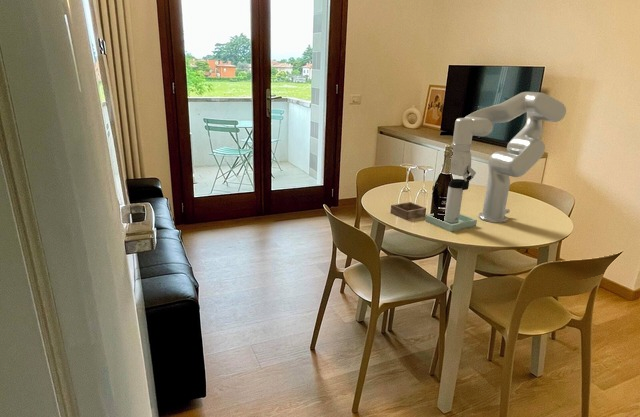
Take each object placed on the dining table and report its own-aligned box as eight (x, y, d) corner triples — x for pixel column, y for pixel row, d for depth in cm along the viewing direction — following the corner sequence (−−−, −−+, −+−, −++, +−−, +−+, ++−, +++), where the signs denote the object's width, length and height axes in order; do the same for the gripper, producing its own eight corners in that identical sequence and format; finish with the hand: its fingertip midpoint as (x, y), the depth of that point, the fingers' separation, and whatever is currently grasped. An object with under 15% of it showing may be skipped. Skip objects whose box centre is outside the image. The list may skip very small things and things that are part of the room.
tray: (449, 216, 199) (450, 210, 198) (475, 226, 187) (476, 219, 186) (425, 221, 191) (426, 215, 190) (450, 232, 179) (451, 225, 178)
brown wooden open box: (409, 209, 207) (410, 201, 205) (425, 216, 198) (426, 208, 196) (390, 213, 200) (391, 205, 199) (406, 220, 192) (407, 211, 190)
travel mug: (459, 225, 185) (466, 181, 179) (444, 224, 187) (450, 180, 180) (458, 221, 191) (464, 178, 185) (443, 219, 192) (448, 177, 186)
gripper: (439, 145, 184) (435, 183, 189) (471, 152, 170) (466, 192, 175) (451, 144, 187) (446, 181, 193) (484, 150, 174) (478, 190, 179)
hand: (456, 186), depth 184 cm, fingers open, 9 cm apart
